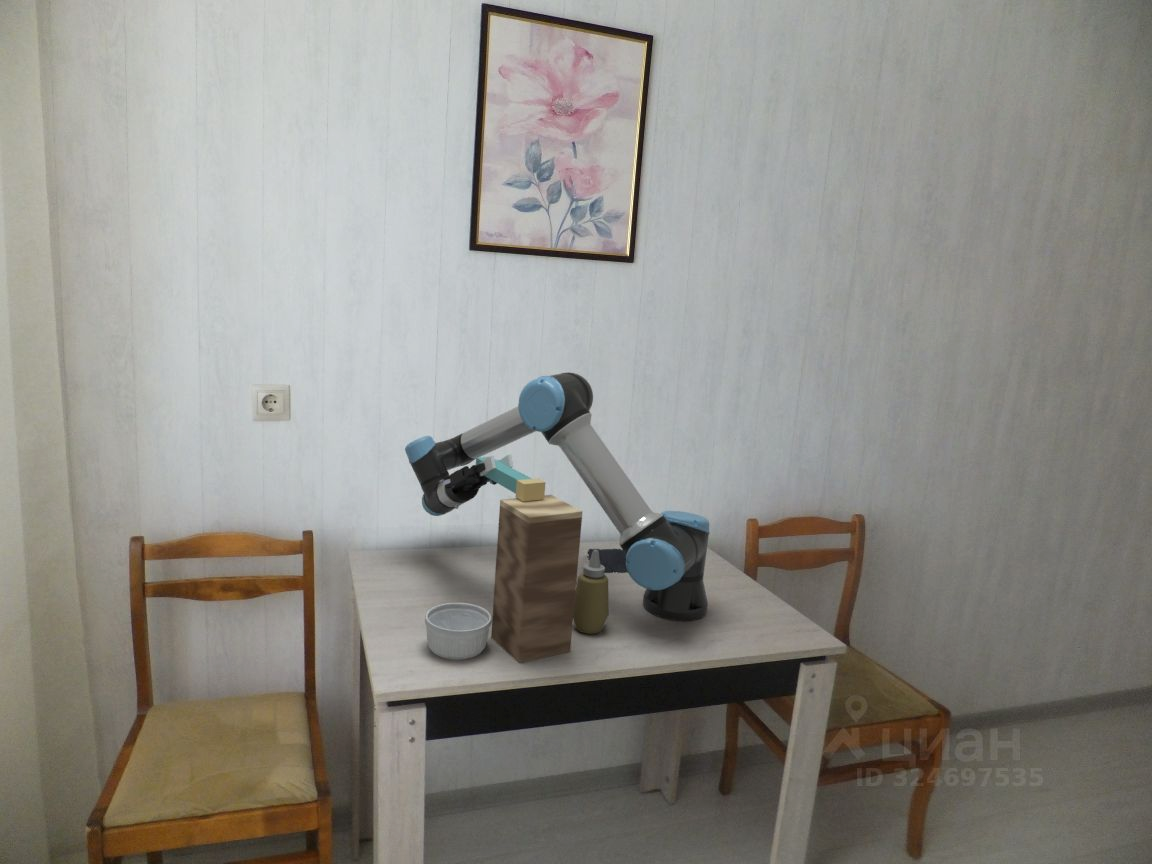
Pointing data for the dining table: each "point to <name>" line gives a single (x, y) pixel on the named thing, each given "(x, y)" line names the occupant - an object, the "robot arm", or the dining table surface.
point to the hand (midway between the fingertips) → (501, 461)
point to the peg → (516, 481)
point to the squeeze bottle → (591, 597)
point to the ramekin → (457, 630)
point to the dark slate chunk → (611, 560)
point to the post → (535, 577)
